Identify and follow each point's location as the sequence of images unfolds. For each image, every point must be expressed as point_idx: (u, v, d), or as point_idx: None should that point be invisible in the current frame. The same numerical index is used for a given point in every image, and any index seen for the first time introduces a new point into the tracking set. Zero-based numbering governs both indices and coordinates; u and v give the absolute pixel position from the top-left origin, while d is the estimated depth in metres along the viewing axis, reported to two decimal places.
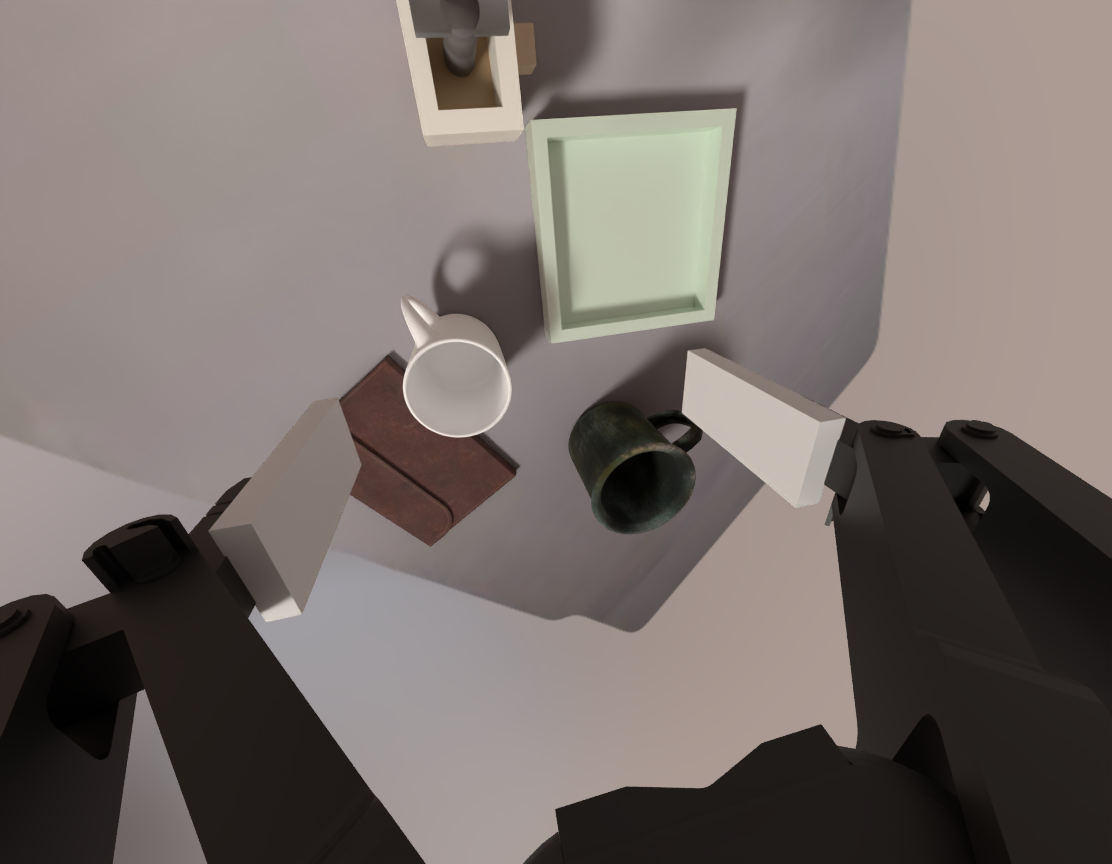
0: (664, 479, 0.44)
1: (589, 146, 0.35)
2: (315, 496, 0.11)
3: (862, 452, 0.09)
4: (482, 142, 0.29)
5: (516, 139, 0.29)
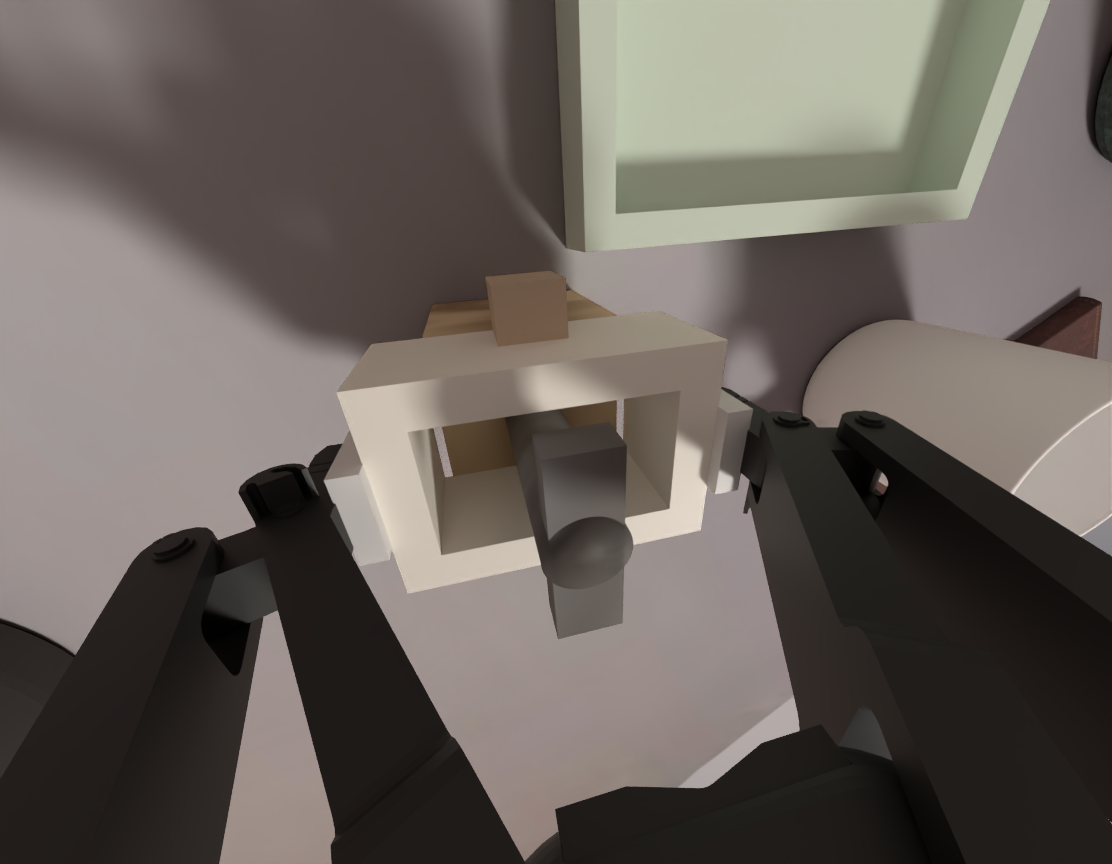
0: None
1: None
2: None
3: (769, 444, 0.10)
4: None
5: (665, 314, 0.13)
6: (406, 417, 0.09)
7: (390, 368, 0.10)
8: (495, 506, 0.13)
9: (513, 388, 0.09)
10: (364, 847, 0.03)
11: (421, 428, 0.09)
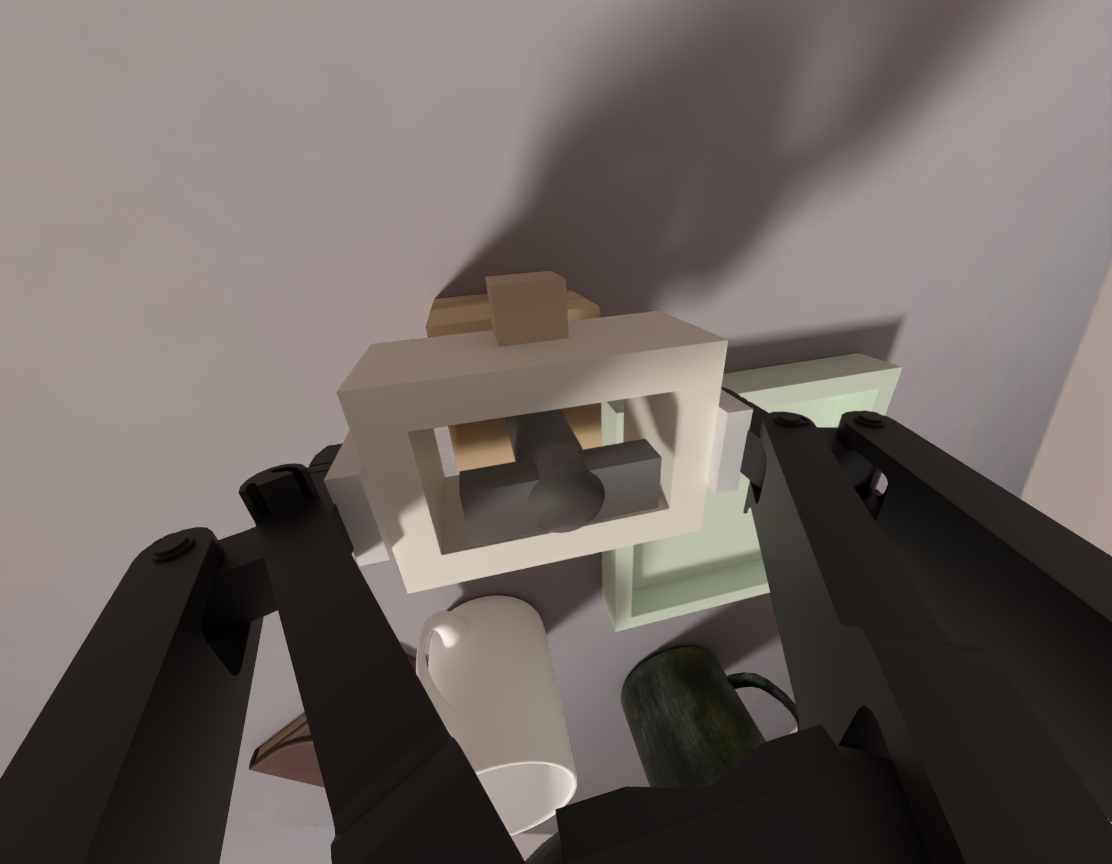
0: None
1: None
2: None
3: (769, 444, 0.10)
4: None
5: (665, 314, 0.13)
6: (406, 417, 0.09)
7: (390, 368, 0.10)
8: None
9: (513, 388, 0.09)
10: (364, 846, 0.03)
11: (421, 428, 0.09)
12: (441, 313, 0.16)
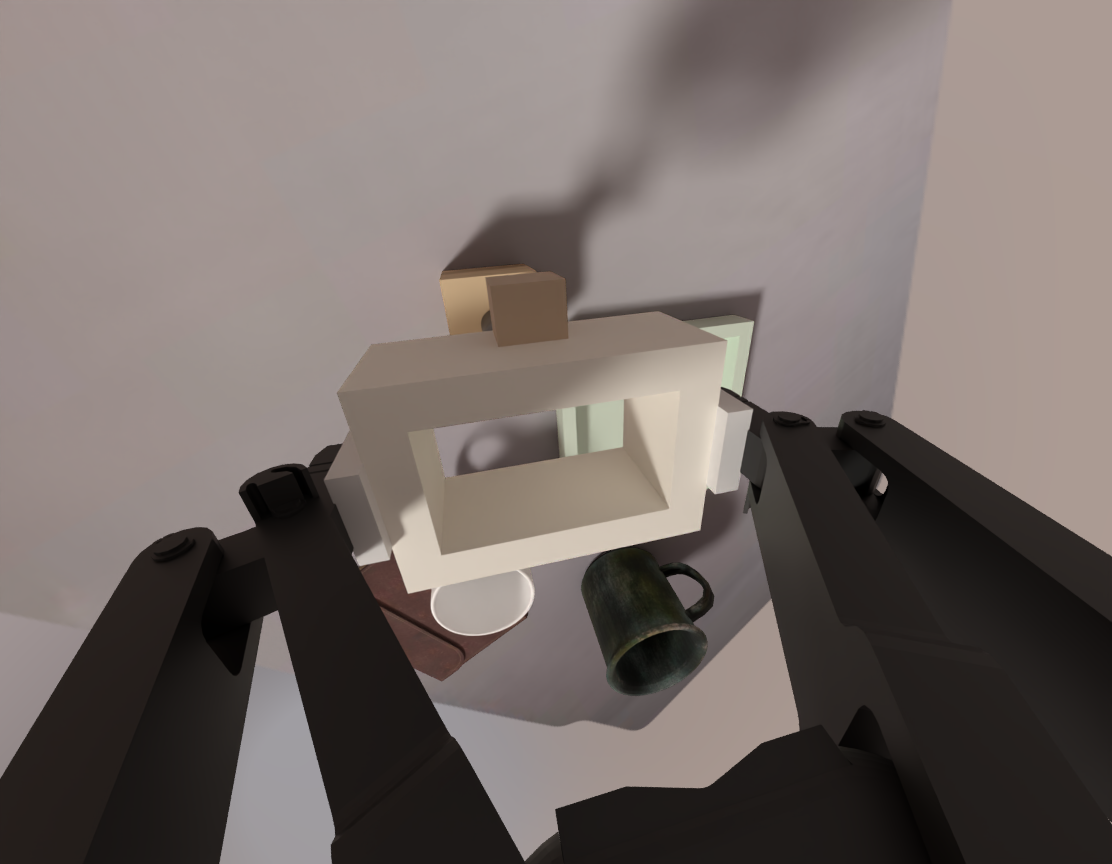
0: (675, 633, 0.46)
1: None
2: None
3: (769, 444, 0.10)
4: None
5: (665, 314, 0.13)
6: (406, 417, 0.09)
7: (390, 368, 0.10)
8: (495, 506, 0.13)
9: (513, 389, 0.09)
10: (365, 846, 0.03)
11: (421, 428, 0.09)
12: (447, 275, 0.28)
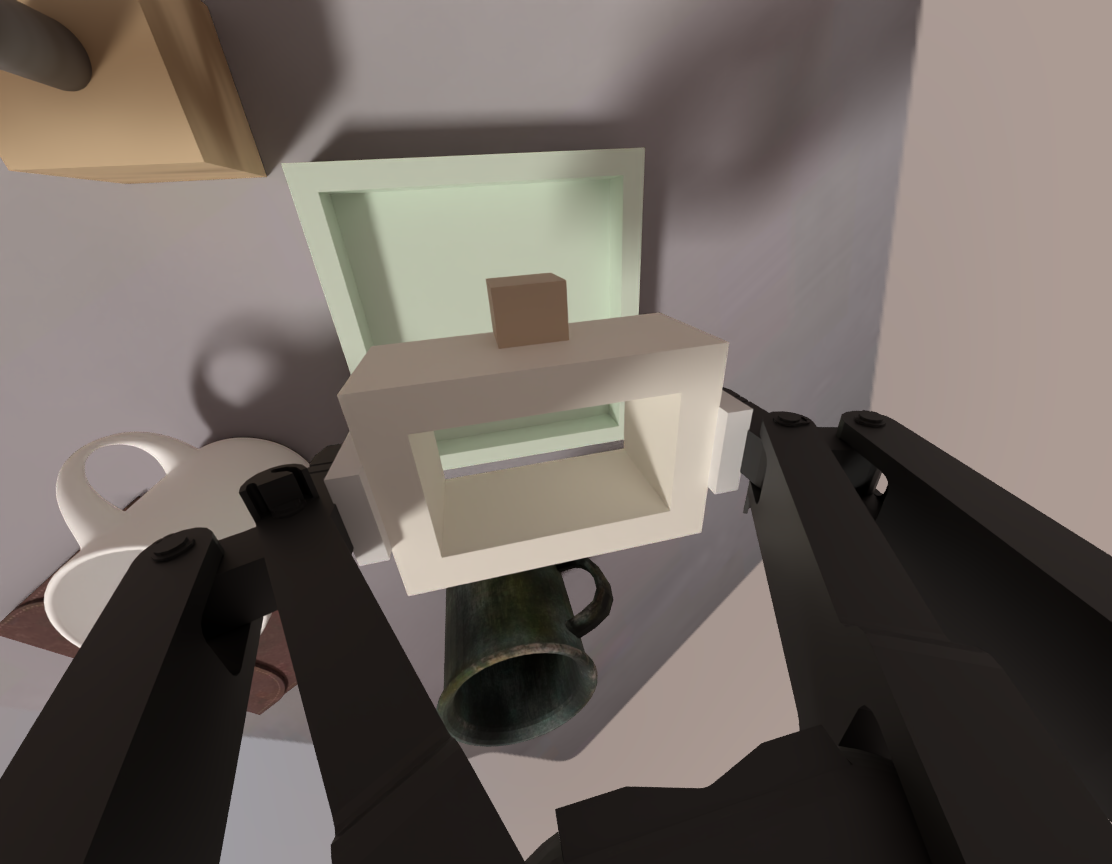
0: None
1: (414, 200, 0.22)
2: None
3: (769, 444, 0.10)
4: None
5: (666, 316, 0.13)
6: (406, 420, 0.09)
7: (390, 370, 0.10)
8: (495, 508, 0.13)
9: (514, 391, 0.09)
10: (364, 846, 0.03)
11: (421, 431, 0.09)
12: None
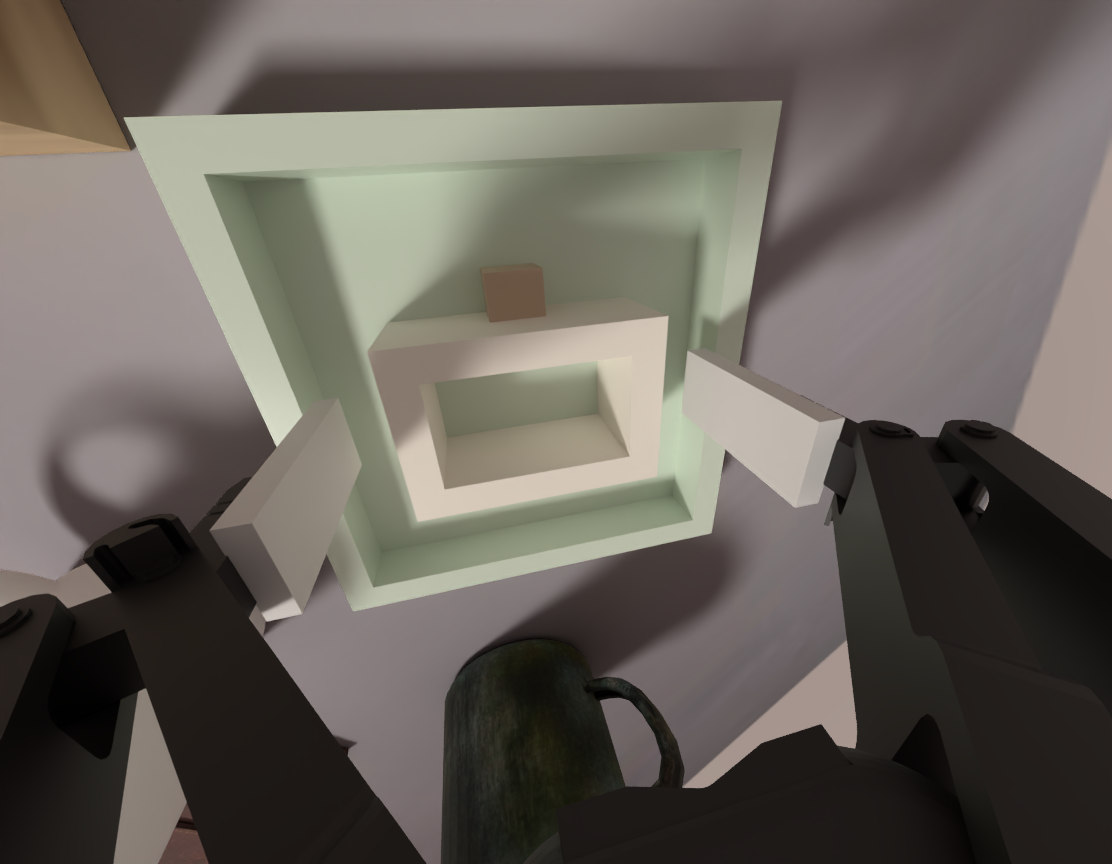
0: None
1: (390, 192, 0.13)
2: (316, 496, 0.11)
3: (861, 452, 0.09)
4: None
5: (628, 299, 0.16)
6: (418, 373, 0.12)
7: (405, 337, 0.13)
8: (488, 456, 0.16)
9: (500, 351, 0.12)
10: None
11: (429, 382, 0.12)
12: None
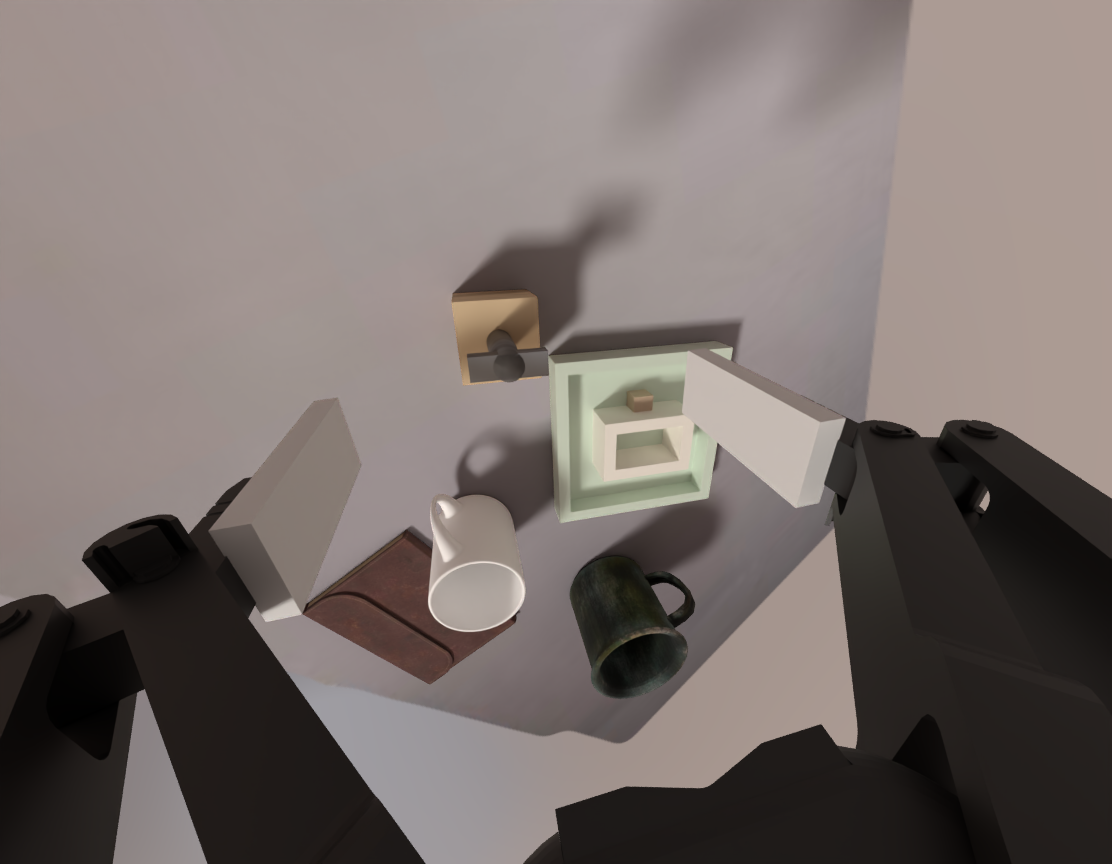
0: (658, 640, 0.48)
1: None
2: (315, 496, 0.11)
3: (862, 452, 0.09)
4: None
5: (678, 401, 0.42)
6: (617, 431, 0.38)
7: (610, 418, 0.39)
8: (624, 459, 0.42)
9: (642, 424, 0.38)
10: None
11: (619, 433, 0.38)
12: (458, 298, 0.31)
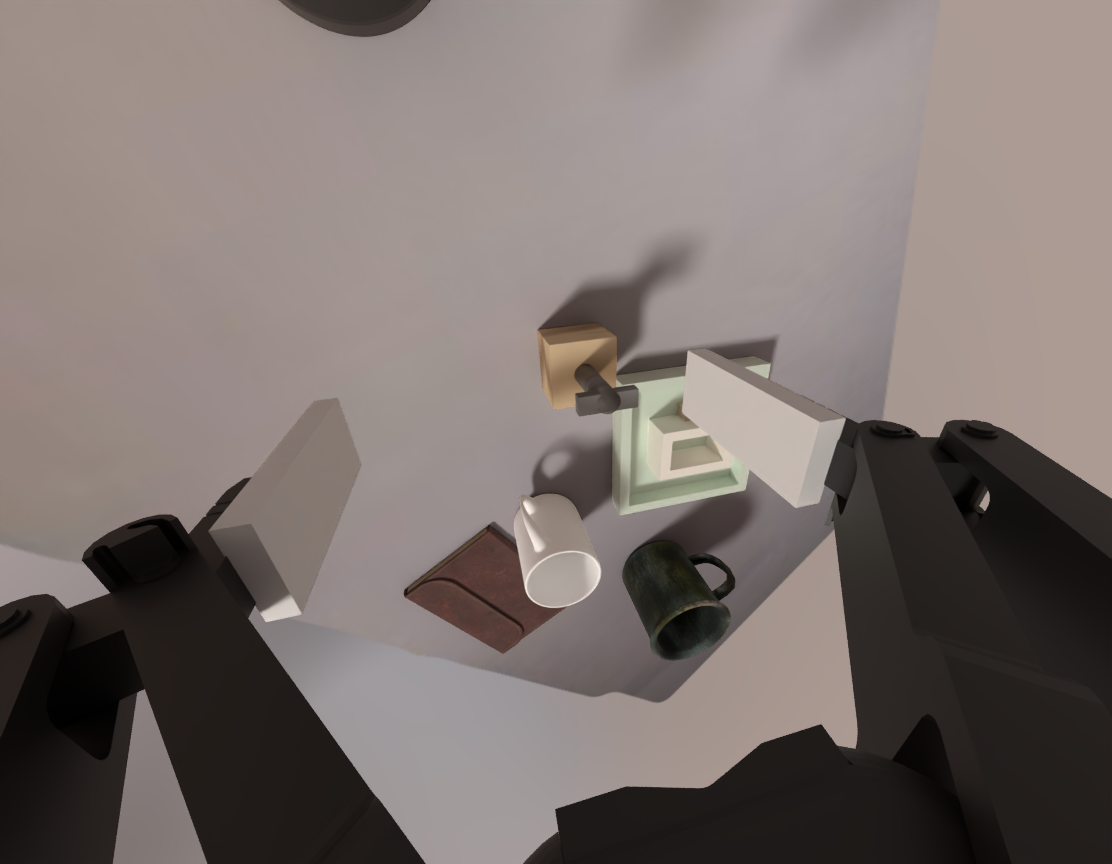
0: (702, 611, 0.56)
1: None
2: (315, 496, 0.11)
3: (862, 452, 0.09)
4: None
5: None
6: (673, 438, 0.45)
7: (666, 427, 0.46)
8: (676, 460, 0.49)
9: (694, 432, 0.45)
10: None
11: (675, 440, 0.45)
12: (549, 338, 0.37)
